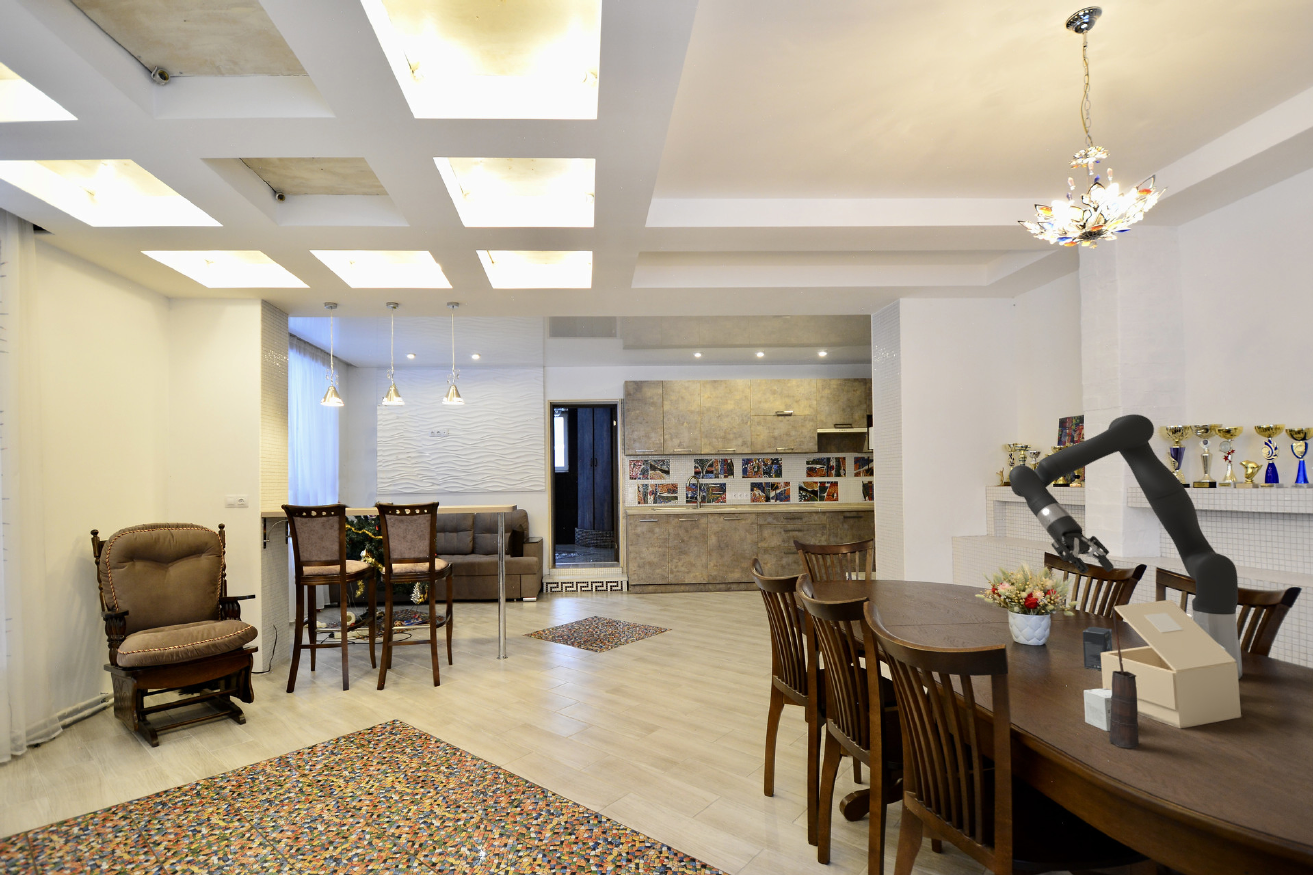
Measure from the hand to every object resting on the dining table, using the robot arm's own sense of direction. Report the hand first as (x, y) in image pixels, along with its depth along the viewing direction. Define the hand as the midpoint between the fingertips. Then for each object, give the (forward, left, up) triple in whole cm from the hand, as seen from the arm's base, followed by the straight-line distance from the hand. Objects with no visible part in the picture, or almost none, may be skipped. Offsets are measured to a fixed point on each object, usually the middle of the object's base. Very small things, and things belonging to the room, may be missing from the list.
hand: (1098, 570), depth 178 cm
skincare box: (+22, +18, -31) cm, 42 cm away
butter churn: (+28, +28, -31) cm, 50 cm away
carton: (0, +16, -31) cm, 35 cm away
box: (-16, -16, -31) cm, 38 cm away
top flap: (0, +18, -13) cm, 22 cm away
